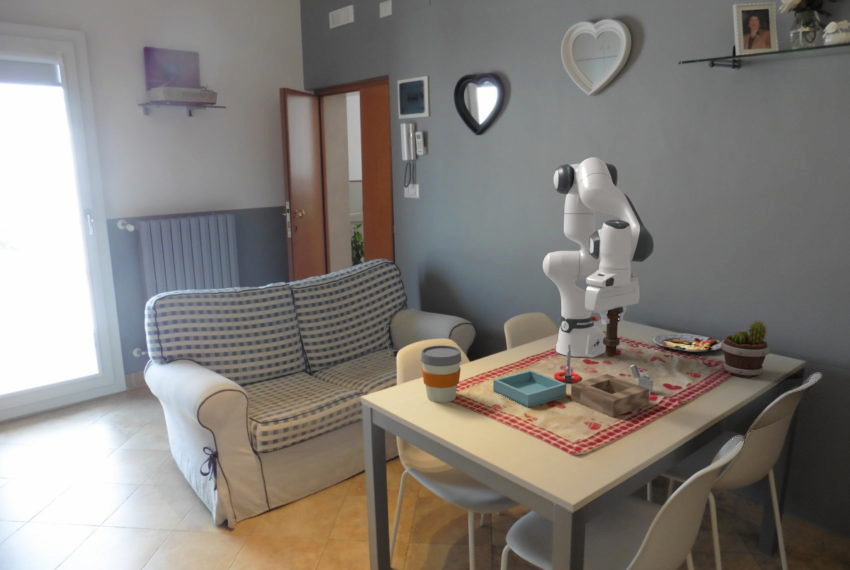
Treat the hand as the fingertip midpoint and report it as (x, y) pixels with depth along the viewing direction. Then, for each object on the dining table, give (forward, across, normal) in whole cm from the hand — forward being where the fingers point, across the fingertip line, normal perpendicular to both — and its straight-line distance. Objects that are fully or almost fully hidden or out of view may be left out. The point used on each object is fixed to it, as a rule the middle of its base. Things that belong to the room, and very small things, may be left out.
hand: (612, 322), depth 179 cm
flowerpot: (+25, -57, +10) cm, 63 cm away
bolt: (+10, 0, 0) cm, 10 cm away
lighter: (+25, -16, -1) cm, 30 cm away
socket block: (+25, 0, 0) cm, 25 cm away
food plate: (+26, -70, -20) cm, 77 cm away
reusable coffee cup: (+25, +39, -33) cm, 57 cm away
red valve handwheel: (+25, -5, -22) cm, 34 cm away
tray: (+25, +15, -19) cm, 35 cm away
